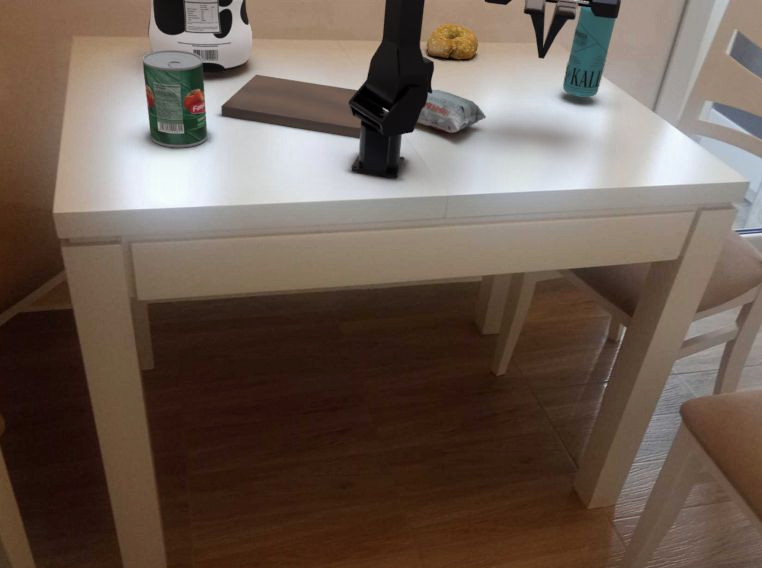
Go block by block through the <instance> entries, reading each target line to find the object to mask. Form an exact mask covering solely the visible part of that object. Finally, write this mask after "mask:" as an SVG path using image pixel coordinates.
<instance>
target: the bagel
mask: <svg viewBox="0 0 762 568" xmlns="http://www.w3.org/2000/svg"><path fill="white" fill-rule="evenodd" d="M426 47H427V52H428V54H429V55H430V56H432V57H437V58H441V59H442V58H443V59H448V58H451V59H455V60H468V59H471V58H473V57H474V56H475V54H476V53H477V51H478V48H479V42H478V38H477V35H476V34H475V33H474V32H473V31H472V30H470V29H468V28H467V27H465V26H462V25H460V24H457V23H448V24H447V23H446V24H441V25H439V26H438V27H436V29H435V30H433V31H432V32H431V34H430V36H429V37H428V39H427V42H426Z"/></svg>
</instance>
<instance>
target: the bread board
mask: <svg viewBox="0 0 762 568" xmlns="http://www.w3.org/2000/svg"><path fill="white" fill-rule="evenodd" d="M357 91H358V89H352V88H345V87H339V86H333V85H326V84H321V83H314V82H307V81H301V80H294V79H293V80H292V79H287V78H281V77H274V76H267V75H260V74H255V75H254V76H253V77H252V78H251V79H249V80H248V82H246V83H245V84H244V85H243V86H242V87H241V88H239V89H238V90H237V91H236V92H235V93H234V94H233V95H232V96H231V97H230V98H229V99H227V100H226V101H225V102H224V103H222V105H221V106H220V107H221V116H223V117H229V118H235V119H241V120H247V121H252V122H260V123H265V124H266V123H267V124H273V125H279V126H286V127H290V128H297V129H303V130H310V131H315V132H322V133H329V134H333V135H334V134H335V135H340V136H345V137H346V136H347V137H353V138H359V139H360V128H361V120H360V119H358V118H357V117H356V116H353V115H352V114H351V111H350V107H349V104H348V102H349V100H350V99H351V98H352V97H353V96H354V94H355V93H356V92H357Z"/></svg>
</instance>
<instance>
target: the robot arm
mask: <svg viewBox="0 0 762 568" xmlns="http://www.w3.org/2000/svg"><path fill="white" fill-rule="evenodd" d="M512 1H513V0H484V3H487V4H494V5H502V6H507V5H509V3H511V2H512ZM425 3H426V0H385V5H384V15H383V16H384V17H383V27H382V29H383V31H382V39H381V42H380V44H379V46H378V47H377V48H376V50H375V52H374V54H373V55H372V57H371V59H370V62H369V67H368V72H367V76H366V79H365V80H364V82H363V83H362V85H361V86H360V87H359V88H358V89H357V90H358V91H357V92H356V93H355V94H354V96H353V97H352V98H351V99H350V100H349V102H348V104H349V107H350V111H351V114H352V115H353V116H356V117H357V118H358V119H360V120H361V128H360V138H359V146H358V155H357V157H356V159H355V160H354V162H353V164H352V165H351V170H350V171H352V172H356V173H362V174H367V175H368V174H369V175H373V176H381V177H386V178H393V179H397V178H398V177H399V175H400V173H401V170H402V169H403V166H404V164H405V162H406V157H404V156H401V149H402V138H403V137H402V136H403V135H406V134H411V133H413V132H414V131H415V128H416V126H417V124H418V123H417V120H418V118H419V115H420V113H421V110H422V108H424V107H425V105H426V102H427V98H428V93H430V94H432V90H433V88H432V80H433V75H434V72H435V61H433V60H431V59H429V58H427V57H425V56H424V55H423V51H422V48H421V39H422V29H423V20H424V13H425V12H424V11H425ZM547 3H549V4H555V6H554V9H553V14H552V18H551V20H550V22H549V23H550V24H549V27H548V29H547V33H546V36H545V25H546V23H545V19H546V7H547V6H546V5H547ZM621 3H622V0H524V8H523V14H524V15H528V16H530V19H531V23H532V26H533V30H534V35H535V41H536V48H537V57H538V59H545V57H546V55H547V54H548V52H549V50H550V48H551V47H552V45H553V43H554V41H555V39H556V37H557V36H558V34H559V33H560V31H561V30H562V28H563V27H564V26H565V24H566V23H567V22H568V21H574V20H576V18H577V17H576V16H577V10H578V8H579V7H580V8H581V7H589V8H591V11H592V13H593V14H594V16H596V17H604V18H612V19H615V18H616V19H618V17H619V13H620V10H621Z"/></svg>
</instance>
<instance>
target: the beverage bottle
mask: <svg viewBox="0 0 762 568" xmlns="http://www.w3.org/2000/svg"><path fill="white" fill-rule="evenodd" d="M616 19H617V18H615V19H612V18H604V17H596V16H594V14H593V13H592V11H591V8H589V7H581V6H580V9H579V15H578V18H577V23H576V24H577V25H576V26H575V28H574V32H573V38H572V45H571V49H570V53H569V58H568V61H567V63H566V68H565V73H564V76H563V81H562V82H563V83H562V86H563V87H562V88H563V91H564V92H566V93H567V94H570V95H573V96H577V97H582V98H583V97H585V98H589V97H595V96H596V95H597V93H598V91H600V85H601V83H602V80H603V79H602V77H603V73H604V69H605V67H606V63H607V58H608V54H609V53H608V52H609V47H610V43H611V39H612V35H613V31H614V27H615V23H616Z"/></svg>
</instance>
